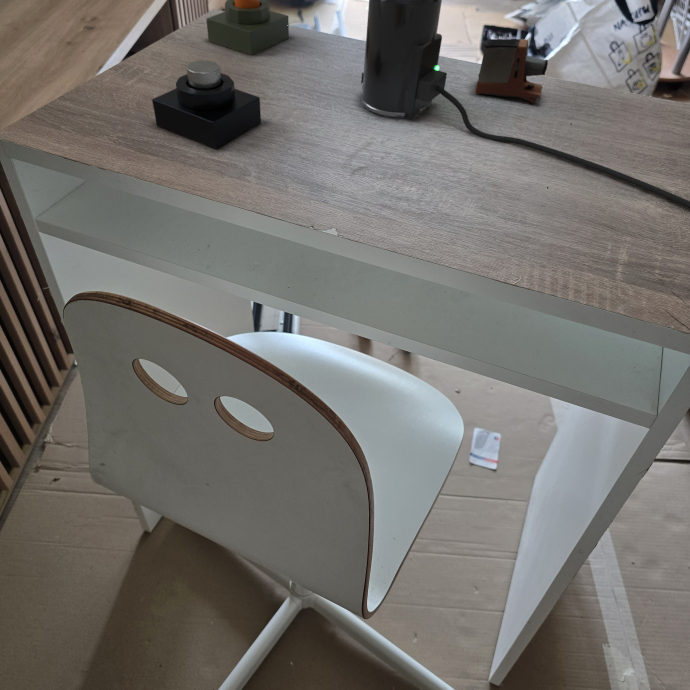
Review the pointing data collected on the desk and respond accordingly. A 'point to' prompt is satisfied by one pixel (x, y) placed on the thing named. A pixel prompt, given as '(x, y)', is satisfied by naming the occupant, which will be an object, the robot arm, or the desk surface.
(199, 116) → the block near
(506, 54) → the electronic device
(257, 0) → the button far
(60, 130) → the desk surface
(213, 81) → the button near
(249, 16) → the block far
